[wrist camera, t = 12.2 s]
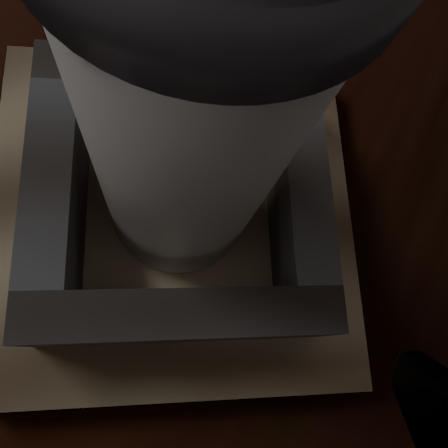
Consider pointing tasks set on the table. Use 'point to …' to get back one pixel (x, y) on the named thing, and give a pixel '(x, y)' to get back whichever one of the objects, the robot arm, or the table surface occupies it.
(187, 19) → the tube
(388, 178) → the table surface
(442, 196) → the table surface
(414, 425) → the robot arm
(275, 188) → the collar
